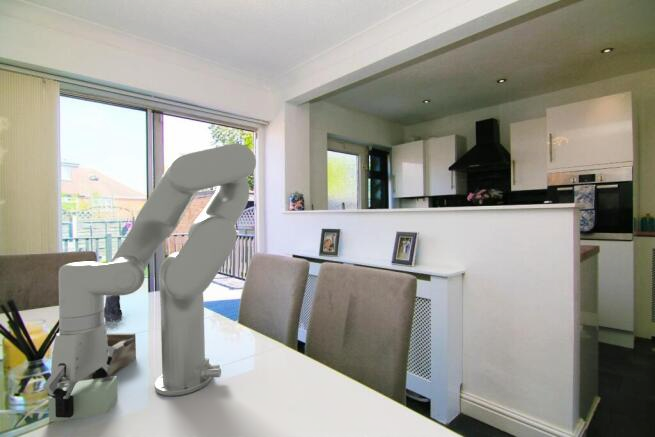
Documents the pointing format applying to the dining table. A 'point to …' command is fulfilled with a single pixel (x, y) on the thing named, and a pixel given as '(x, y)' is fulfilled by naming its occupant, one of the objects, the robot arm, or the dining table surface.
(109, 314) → the rock
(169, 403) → the dining table surface
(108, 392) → the grey-green block
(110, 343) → the brown wooden box
